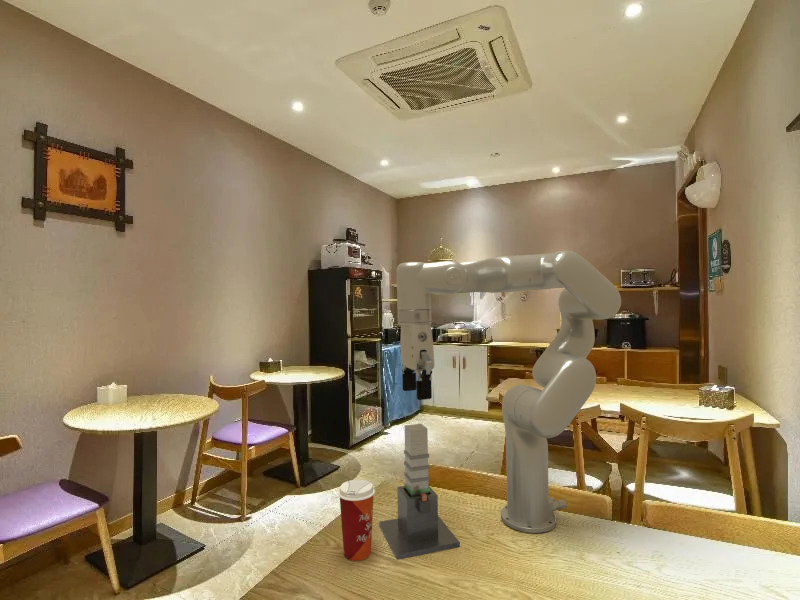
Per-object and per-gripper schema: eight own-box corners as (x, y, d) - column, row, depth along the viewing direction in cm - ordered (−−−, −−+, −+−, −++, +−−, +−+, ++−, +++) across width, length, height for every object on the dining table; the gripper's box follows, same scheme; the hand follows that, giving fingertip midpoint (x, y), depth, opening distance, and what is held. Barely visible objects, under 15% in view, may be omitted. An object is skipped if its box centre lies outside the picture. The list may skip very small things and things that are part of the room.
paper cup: (370, 566, 87) (369, 495, 87) (333, 562, 88) (332, 492, 88) (380, 544, 94) (379, 479, 94) (346, 541, 96) (345, 477, 96)
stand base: (435, 516, 106) (434, 470, 106) (459, 546, 93) (459, 494, 93) (379, 526, 102) (378, 478, 102) (396, 559, 89) (395, 505, 89)
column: (423, 501, 100) (421, 423, 100) (430, 510, 96) (428, 428, 96) (404, 504, 99) (403, 425, 99) (411, 513, 95) (409, 430, 95)
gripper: (445, 318, 90) (447, 401, 90) (417, 316, 107) (419, 386, 107) (411, 319, 88) (413, 404, 88) (387, 317, 105) (389, 388, 105)
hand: (416, 394), depth 97 cm, fingers open, 9 cm apart
